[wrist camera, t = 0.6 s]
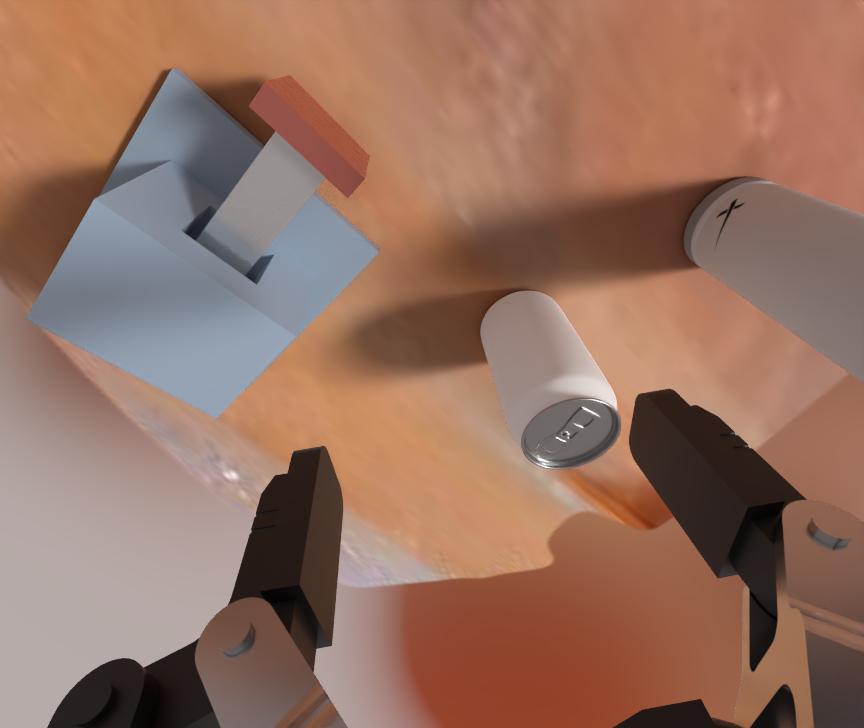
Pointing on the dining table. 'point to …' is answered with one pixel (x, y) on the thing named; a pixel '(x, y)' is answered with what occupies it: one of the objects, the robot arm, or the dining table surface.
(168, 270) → the block
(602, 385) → the can
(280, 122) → the pin
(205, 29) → the dining table surface
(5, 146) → the dining table surface
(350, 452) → the dining table surface
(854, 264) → the travel mug
